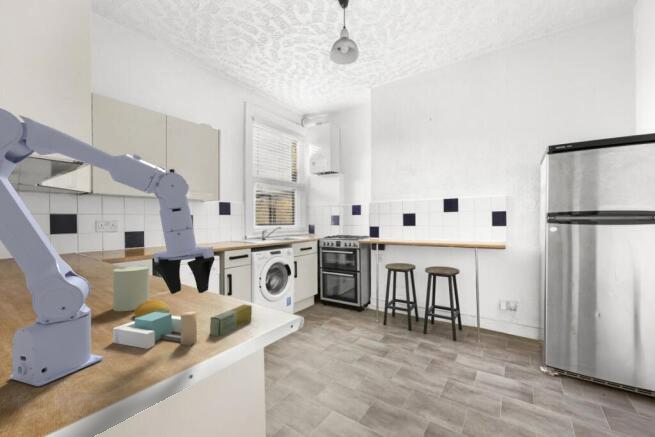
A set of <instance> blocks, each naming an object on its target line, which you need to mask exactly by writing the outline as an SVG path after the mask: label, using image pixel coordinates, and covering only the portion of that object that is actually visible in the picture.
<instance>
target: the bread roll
mask: <svg viewBox="0 0 655 437" xmlns="http://www.w3.org/2000/svg"><path fill="white" fill-rule="evenodd" d="M170 311H171V309H170V306H169V305H167V303H165V302H164V301H162V300H159V299H149V300H148V301H145V302H143V303H141V304H140V305H139V306H137V307H136V309H135V310H133V315H134V318H138V317H141V316H144V315H147V314H150V313H153V312H161V313H169V314H170Z"/></svg>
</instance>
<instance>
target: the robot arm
mask: <svg viewBox="0 0 655 437" xmlns="http://www.w3.org/2000/svg"><path fill="white" fill-rule="evenodd" d="M18 117H19V118H20V119H21V120H22V121H23V122H22V121H21V120H19V118H18ZM34 153H36V154H38V155H39V156H46V155H52V154H53V155H54V154H59V155H62V156H65V157H68V158H70V159H74V160H76V161H79V162H82V163H85V164H87V165H90V166H93V167H97V169H101V170H104V171H106V172H108V173H109V175H110V176H111V178H112V180H113V181H114V182H116V183H119V184H122V185H125V186H128V187H129V188H133V189H135V190H138V191H141V192H143V193H146V194H148V195H149V194H154V196H156V198H157V199H158V203H159V215H160V221H161V229H162V232H163V238H164V244H165V249H166V250H165V251H159V252H158V251H157V252H154V253H153V260H154V263H157V264H154V265H153V269H154V270H155V271H156V272H157V273H158V274H159V276H161V278H162V280H163V281H164V283H165V284H166V286H167V288H168V290H169V292H170V294H171V295H174V294H176V293H178V292H181V291H182V283H181V282H182V281H181V275H180V274H181V270H180V269H181V262H182V260H189V261H187V263H186V264H187V266H188V268H189V269H190V272H192V273H191V274H192V275H193V277H194V280H195V284H196V288H197V292H198V294H202V293H204V292H205V293H206V292H207V291H209V286H210V285H209V283H210V276H211V270H212V267H213V264H214V262H215V260H216V259H215V254H214V247H213V246H211V247H210V246H209V247H208V246H205V247H203V246H198V245H197V243H196V238H195V231H194V225H193V219H192V214H191V209H190V208H191V207H190V206H189V201H188V196H187V194H188V192H189V190H190V188H189V187H190V186H189V185H190V184H188V182H187V181H186V179H185V178H184V177H183V176H182V175H180V174H179V173H177V172H172V171H171V172H167V169H168V168H166V167H164V166H161V168H160V167H158V166H156V165H153V164H151V163H149V162H147V161H144V160H142V156H141V155H139V154H136V153H134V154H133V156H132V155H131V154H128V153H125V154H121V155H120V154H119V155H114V154H111V153H109V152H107V151H105V150H102V149H101V148H98V147H96V146H94V145H91V144H90V143H87V142H85V141H82V140H81V139H79V138H77V137H74V136H71V135H70V134H68V133H65V132H63V131H61V130H59V129H56V128H55V127H52V126H50V125H47V124H44V123H42V122H39V121H38V120H37V121H36V120H34V119H32V118H30V117H27V116H24V115H23V116H22V115H20V114H18V116H16V115H15V114H13V113H12V112H10V111H8V110H7V109H4V108H1V107H0V242H1V243H2V244H3V246H4V248H6V250H7V251H8V253H9V254H10V256H11V257H12V258H13V260H14V261H15V262H16V263H17V265H18V267H19V268H20V269H21V271H22V273H24V276H25V277H24V278H25V283H26V284H25V285H26V288H27V289H28V290H27V291H29V293H30V294H31V296H32V303H31V304H32V310H33V312H34V313H35V315H37V316H35V320H34V322H32V323H30V324H29V325H27V326H24V327H23V326H22V327H21V328H19V329H17V330H16V331H15V332H14V334H13V337H12V344H11V345H12V352H11V353H12V355H11V356H12V359H11V360H12V371H11V372H12V374H10V375H9V378H10V379H11V380H14V381H18V382H22V383H25V384H28V385H32V386H35V387H41V386H44V385H46V384H48V383H51V382H53V381H55V380H57V379H60V378H62V377H65V376H67V375H69V374H71V373H74V372H76V371H78V370H80V369H83V368H85V367H87V366H91V365H92V364H95V363H97V362H100V361H102V360H103V358H104V357H103V356H102V355H98V354H93V353H92V337H91V336H92V313H91V312H92V309H91V308H90V307H89V306H87V305H86V304H87V303H85V301H86V300H88V297H89V296H90V294H91V284H90V282H89V281H88V280H87V279H86V278H85V277H83V276H81V275H79V274H77V273H76V272H75V271H74V270H73V268H72V267H71V266H70V265H69V264H68V263H67V262H65V260H63V258H62V257H61V255H59V253H58V251H57V250H56V249H55V247H54V245H53V244H52V243H51V241H50V239H49V238H48V237H47V235H46V234H45V232H44V231H43V229H42V228H41V227H40V225H39V223H38V222H37V221H36V219H35V217H34V216H33V215H32V213H31V212H30V210H29V209H28V207H27V206H26V204H25V203H24V202H23V200H22V198H21V197H20V195H18V193H17V191H16V190H15V188H14V187H13V185H12V184H11V182H10V181H9V176H10V175H11V174H12V172H13V171H14V170H15V168H16V166H17V165H18V164H20V163H21V162H23V161H24V160H26V159H28V158H29V157H30V156H32V155H33V154H34ZM191 259H193V260H191Z"/></svg>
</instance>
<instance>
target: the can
mask: <svg viewBox="0 0 655 437" xmlns="http://www.w3.org/2000/svg"><path fill="white" fill-rule="evenodd" d="M112 274H113V276H112V277H113V308H112V310H113V311H115V312H129V311H134V310H135V309H136V307H137V306H139V305H140V304H141V303H143V302H145V301H148V300H150V267H149V266H144V265H143V266H142V265H141V266H139V265H138V266H124V267H119V268H115V269H113V270H112Z"/></svg>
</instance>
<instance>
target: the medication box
mask: <svg viewBox="0 0 655 437" xmlns="http://www.w3.org/2000/svg"><path fill="white" fill-rule="evenodd" d="M252 308H253V306H252V304H251V305H250V304H242V305H239V306H236V307H235V308H231V309H230V310H227V311H224V312H222V313H220V314H217V315H214V316H212V317H210V319H209V320H210V324H209V335H210V336H215V337H219V336H221V335H223V334H225V333H227V332H229V331H232V330H233V329H235V328H237V327H239V326H241V325H243V324H245V323H247V322H248V321H250V320H252V312H253V311H252Z"/></svg>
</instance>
